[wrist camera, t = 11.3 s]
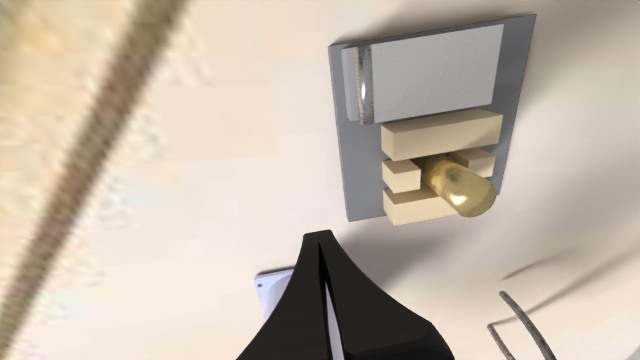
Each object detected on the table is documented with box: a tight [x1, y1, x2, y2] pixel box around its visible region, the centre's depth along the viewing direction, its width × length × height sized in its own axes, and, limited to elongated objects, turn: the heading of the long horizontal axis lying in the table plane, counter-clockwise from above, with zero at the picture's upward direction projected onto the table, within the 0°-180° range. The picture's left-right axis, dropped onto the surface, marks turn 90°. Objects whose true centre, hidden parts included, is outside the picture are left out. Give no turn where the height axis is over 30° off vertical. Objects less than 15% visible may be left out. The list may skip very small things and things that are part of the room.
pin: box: [413, 153, 497, 217], centre depth 18 cm, size 3×3×6 cm
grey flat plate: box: [354, 24, 504, 125], centre depth 15 cm, size 4×8×1 cm, turn 98°
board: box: [328, 14, 536, 226], centre depth 19 cm, size 14×14×4 cm
